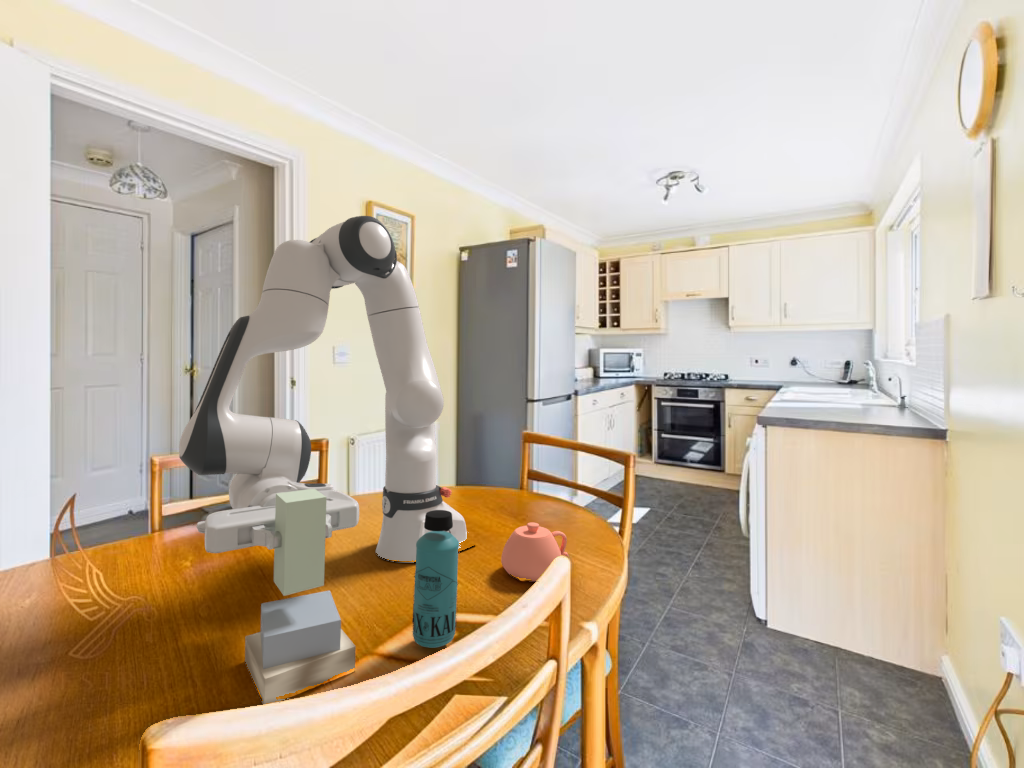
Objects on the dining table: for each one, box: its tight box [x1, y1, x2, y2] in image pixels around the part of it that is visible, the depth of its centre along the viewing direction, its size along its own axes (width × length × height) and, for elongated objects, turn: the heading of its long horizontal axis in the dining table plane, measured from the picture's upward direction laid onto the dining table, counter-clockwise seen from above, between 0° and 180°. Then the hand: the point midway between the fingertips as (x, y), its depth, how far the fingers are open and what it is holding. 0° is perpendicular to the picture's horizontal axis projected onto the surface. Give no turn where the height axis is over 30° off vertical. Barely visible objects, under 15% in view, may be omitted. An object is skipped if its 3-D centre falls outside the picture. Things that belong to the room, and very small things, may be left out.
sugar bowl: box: [500, 522, 570, 582], centre depth 95 cm, size 12×14×10 cm
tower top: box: [260, 590, 342, 669], centre depth 64 cm, size 9×9×4 cm
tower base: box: [244, 628, 357, 705], centre depth 64 cm, size 11×11×4 cm
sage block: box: [273, 489, 327, 597], centre depth 63 cm, size 5×5×12 cm
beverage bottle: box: [411, 510, 459, 649], centre depth 69 cm, size 6×7×20 cm
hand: (302, 537), depth 63 cm, fingers closed on sage block, 5 cm apart
